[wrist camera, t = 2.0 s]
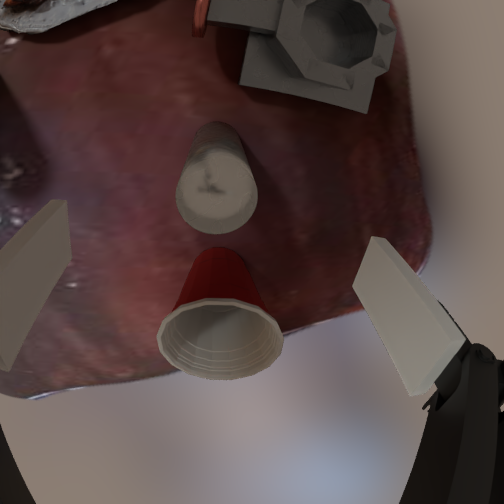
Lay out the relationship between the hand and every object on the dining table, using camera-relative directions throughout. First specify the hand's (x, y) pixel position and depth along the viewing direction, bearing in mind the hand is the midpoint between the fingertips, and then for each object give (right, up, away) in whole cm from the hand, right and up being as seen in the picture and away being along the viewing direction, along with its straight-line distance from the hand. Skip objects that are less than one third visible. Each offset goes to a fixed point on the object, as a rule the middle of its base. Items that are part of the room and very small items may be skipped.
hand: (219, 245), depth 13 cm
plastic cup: (-3, -2, +23) cm, 24 cm away
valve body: (+5, +20, +11) cm, 23 cm away
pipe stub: (-2, +10, +16) cm, 19 cm away
